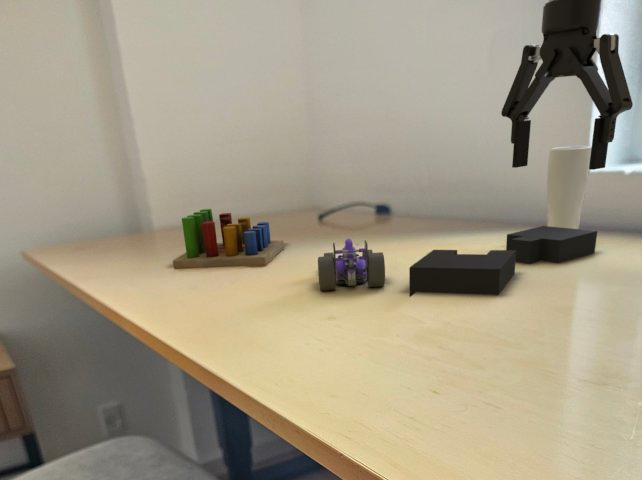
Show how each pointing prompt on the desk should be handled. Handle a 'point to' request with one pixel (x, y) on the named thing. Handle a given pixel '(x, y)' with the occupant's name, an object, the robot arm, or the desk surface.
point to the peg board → (225, 243)
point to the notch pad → (462, 272)
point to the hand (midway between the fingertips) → (556, 167)
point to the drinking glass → (567, 185)
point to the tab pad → (551, 244)
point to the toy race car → (351, 267)
